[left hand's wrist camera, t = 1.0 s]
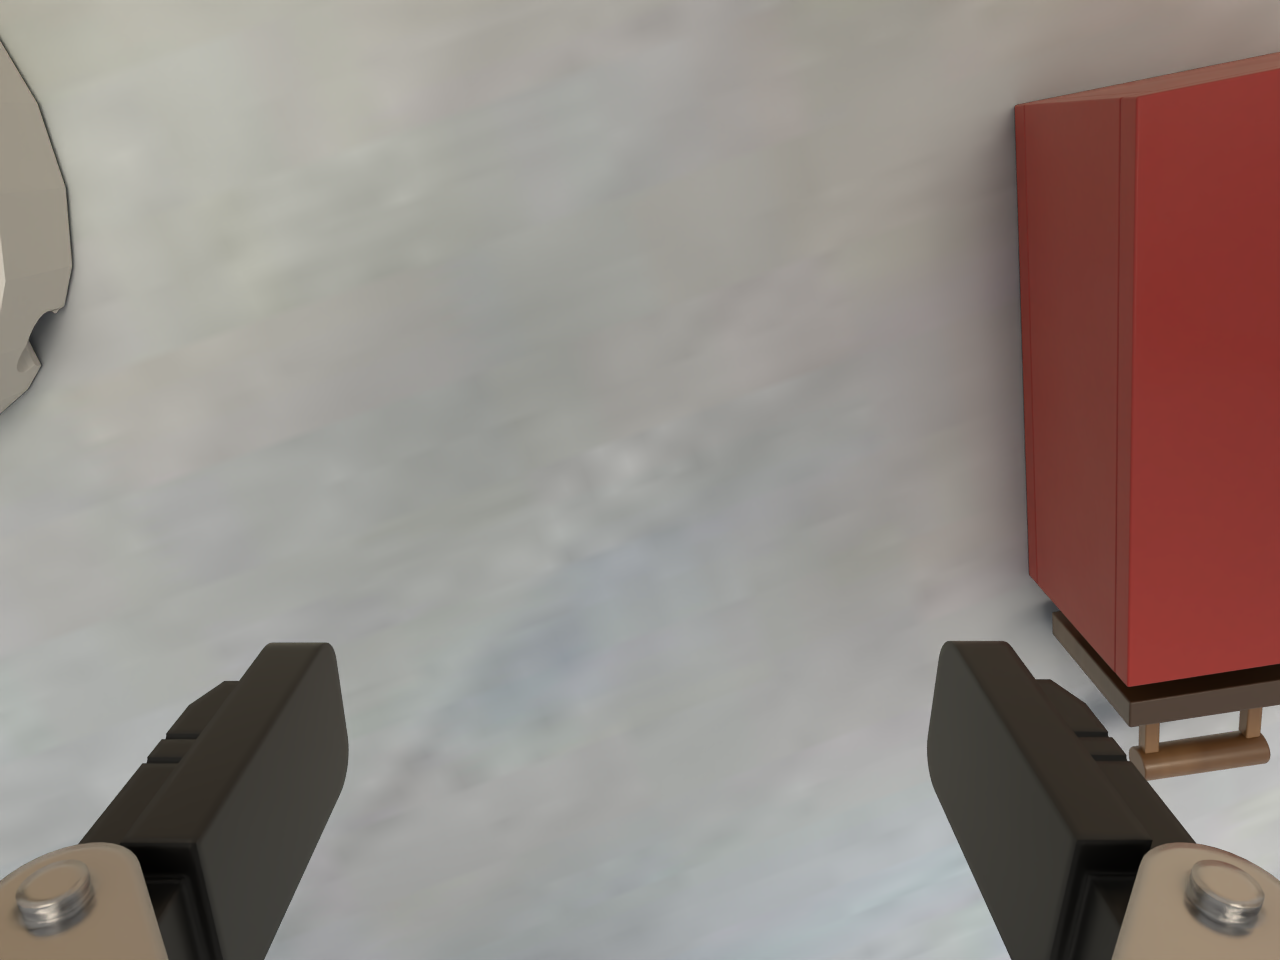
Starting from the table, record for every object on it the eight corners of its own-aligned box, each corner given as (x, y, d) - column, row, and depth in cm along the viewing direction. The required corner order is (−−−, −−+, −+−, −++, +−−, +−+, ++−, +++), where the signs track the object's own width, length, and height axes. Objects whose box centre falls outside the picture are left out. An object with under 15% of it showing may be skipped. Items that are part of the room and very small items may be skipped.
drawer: (1253, 702, 42) (1363, 805, 36) (1054, 732, 43) (1127, 839, 36) (1295, 162, 33) (1453, 169, 27) (1043, 210, 34) (1138, 229, 27)
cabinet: (1264, 536, 40) (1427, 641, 32) (1028, 575, 41) (1127, 687, 33) (1302, 47, 33) (1526, 18, 24) (1013, 105, 33) (1136, 96, 25)
